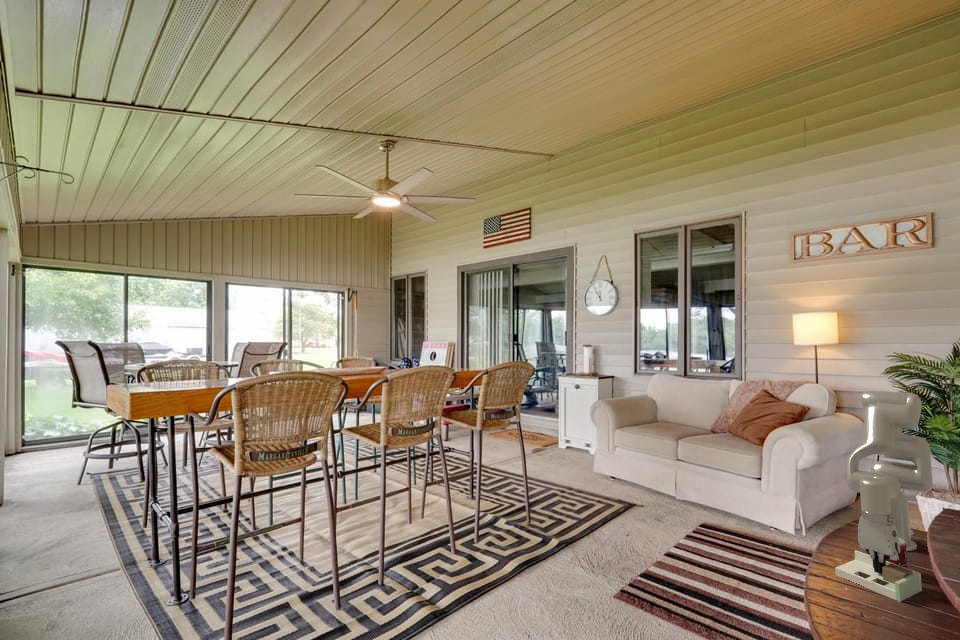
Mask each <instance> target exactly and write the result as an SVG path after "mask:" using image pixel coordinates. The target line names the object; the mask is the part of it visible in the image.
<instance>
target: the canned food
mask: <svg viewBox="0 0 960 640" xmlns="http://www.w3.org/2000/svg"><path fill="white" fill-rule="evenodd" d="M898 538H899V537H898ZM899 544H900V553H898V556H899V560H897V561H896V560H890V559H889V560H887V561H888V562H890V563H893V564H896V565H899V566H902V567H904V568H907V569H909V568H908V567H909V566H908V554H907V553H908V551H907V550H906V542H905V541H904V540H903V539H901V538H899ZM878 554H879V552H878Z"/></svg>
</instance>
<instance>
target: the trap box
mask: <svg viewBox="0 0 960 640" xmlns="http://www.w3.org/2000/svg"><path fill="white" fill-rule="evenodd" d="M889 564H891V563H890V562H888V561H886V565H889ZM892 564H893V563H892ZM895 565H896V564H895ZM898 566H899V565H898ZM900 567H902V566H900ZM903 568H904V567H903ZM906 569H907V568H906ZM908 569H909V568H908ZM909 570H912V569H909ZM834 572H835V574H834V576H837V577H839V578H841V577H842V578H841V579H844V578H845V579H844V580H846V579H847V580H846V581H848V580H850V581H849V582H851V581H852V582H851V583H853V582H854V584H856V583H857V584H856V585H858V584H860V585H859V586H861V585H862V586H861V587H863V586H864V588H865V589H868V590H871V591H873V592H875V593H878V594H880V595H883V596H885V597H887V598H889V599H891V600H892V599H893V600H895V601H897V602H899V603H901V602H903V601H905V600H907V599H908V598H911V597H912V596H914V595H916V594H918V593H920V592H922V591H923V590H922V588H923V587H922V574H921V572H919V571H915V570H912V574H911V575H909V576H907V577H905V578H903V579H901V580H899V581H897V582H895V584H893V583H890V582H888V581H885V580H883V573H882V574H879V573H878V572H877V573H876V572H874V568H873V559H871V557H870V555H869V554H868V553H865V552H861V551H860V550H854V559H852V560H850V561H847V562H846V563H843V564H841V565H839V566H838V565H837V566H836V567H835V568H834Z"/></svg>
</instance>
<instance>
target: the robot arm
mask: <svg viewBox="0 0 960 640" xmlns="http://www.w3.org/2000/svg"><path fill="white" fill-rule="evenodd" d="M859 398H860V399H859V400H860V403H861V405H862V408H863V409H864V413H863V415H864V417H863V442H862V443H861V444H860V445H858V446H857V447H856V448H855V449H854V450H852V452H851V453H850V454H849V456H848V458H847V462H846V471H845V472H846V474H845V475H846V476H845V478H846V484H847V487H848V489H850V490H851V491H853V492H856V493H860V494H859V495H860V506H861V507H860V508H861V510H860V511H861V516H859V520H858V525H857V541H858V546H859V548H860V549H861V550H863V551H865V552H866V554H868V555H870V557H871V559H873V568H874V572H876V573H877V572H878V573H879V574H882V573H883V572H882V567H884V566H886V561H887V560H889V559H890V560H896V561H897V560H899V556H898V553H900V544H899V538H901V539H903V540H904V541H905V542H906V550H907V552H912V551H915V550H917V547H918V546H917V544H916V542H914V541H913V540H912V537H911V536H913V535H914V533H915V532H914V531H913V530H912V529H911V524H910V523H911V522H910V510H909V509H910V507H909V499H908V498H907V496H906V495H905V494H904V492H902V490H907V491H908V490H909V491H915V492H923V493H927V492H928V493H929V492H930V491H931V490H932V488H933V481H934V480H933V469H932V457H931V449H930V445H929V443H928V442H927V440H926V439H925V438H923V437H920V436H916V435H906V434H905V435H904V434H903V431H902V429H907V430H913V429H917V427H918V425H919V422H920V418H921V412H922V400H921V398H920V396H919V395H917V394H916V393H913V392H901V391H900V392H898V391H885V390H868V391H864V392H862V393H861V394H860V396H859ZM873 455H877V456H879V457H881V458H885V459H892V460H899V461H905V462H911V463H904V462H897V461H889V460H877V461H874V462H873V463H872V464H871V466H870V471H866V470H865V471H864V470H858V466H859V463H860V462H861V460H863V459H865V458H867V457H870V456H873ZM898 537H899V538H898ZM878 552H879V554H878Z"/></svg>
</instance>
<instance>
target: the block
mask: <svg viewBox="0 0 960 640" xmlns="http://www.w3.org/2000/svg"><path fill="white" fill-rule="evenodd" d="M882 572H883V580H885V581H888V582H890V583H893V584H895V582H897V581H899V580H901V579H903V578H905V577H907V576H909V575H911V574H912V569H910V570H909V568H908V569H906V568H903V567H900V566H898V565H895V564H892V563H891V564H889V565H886V566H884V567H882Z"/></svg>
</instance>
